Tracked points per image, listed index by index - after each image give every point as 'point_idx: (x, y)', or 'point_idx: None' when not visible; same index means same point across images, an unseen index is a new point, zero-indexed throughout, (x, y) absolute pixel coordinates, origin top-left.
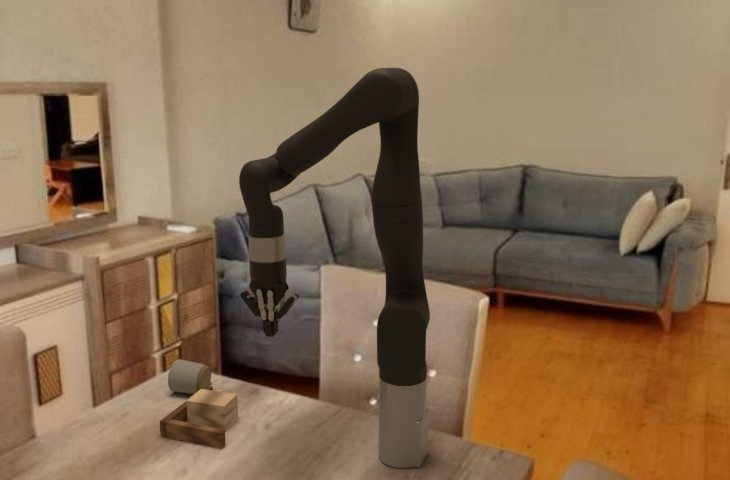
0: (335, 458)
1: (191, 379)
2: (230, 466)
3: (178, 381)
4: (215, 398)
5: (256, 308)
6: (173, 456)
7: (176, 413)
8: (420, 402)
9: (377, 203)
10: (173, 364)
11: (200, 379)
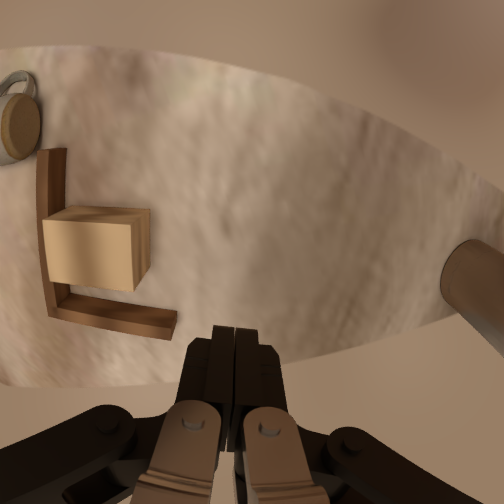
0: (380, 304)
1: (4, 161)
2: None
3: None
4: (94, 259)
5: (113, 500)
6: (117, 350)
7: (52, 286)
8: None
9: None
10: None
11: (17, 151)
